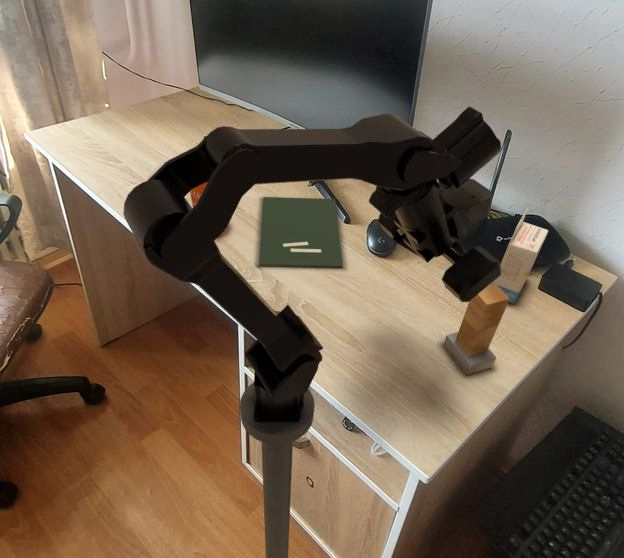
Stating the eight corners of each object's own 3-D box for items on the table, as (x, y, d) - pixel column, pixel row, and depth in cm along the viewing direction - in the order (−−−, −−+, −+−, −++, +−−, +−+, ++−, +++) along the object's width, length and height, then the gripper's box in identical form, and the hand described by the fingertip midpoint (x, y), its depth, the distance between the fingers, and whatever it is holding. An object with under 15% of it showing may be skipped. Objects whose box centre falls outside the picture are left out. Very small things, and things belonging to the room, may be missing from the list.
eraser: (465, 375, 83) (491, 313, 73) (442, 345, 87) (464, 282, 77) (491, 367, 84) (520, 305, 74) (467, 338, 89) (491, 276, 79)
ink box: (514, 305, 95) (544, 237, 84) (487, 295, 97) (514, 227, 86) (526, 281, 100) (556, 214, 90) (500, 271, 102) (527, 205, 91)
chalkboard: (342, 268, 100) (342, 265, 100) (259, 266, 99) (259, 263, 99) (335, 201, 116) (335, 198, 116) (263, 199, 116) (263, 196, 115)
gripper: (531, 202, 56) (541, 276, 69) (425, 131, 67) (451, 206, 80) (450, 269, 57) (475, 330, 70) (358, 189, 68) (395, 254, 81)
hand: (449, 275), depth 75 cm, fingers open, 9 cm apart
